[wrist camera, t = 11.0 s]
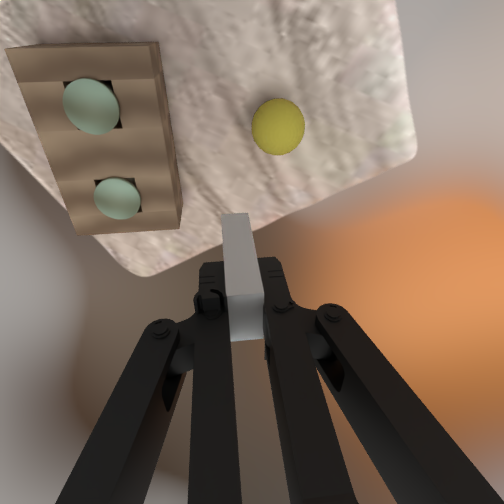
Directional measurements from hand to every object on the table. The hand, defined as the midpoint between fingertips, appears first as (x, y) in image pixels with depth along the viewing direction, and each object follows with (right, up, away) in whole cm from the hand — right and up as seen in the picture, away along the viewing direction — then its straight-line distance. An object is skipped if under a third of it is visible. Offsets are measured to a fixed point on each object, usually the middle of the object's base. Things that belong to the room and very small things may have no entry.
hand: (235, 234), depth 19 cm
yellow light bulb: (+4, +19, +27) cm, 33 cm away
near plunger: (-17, +20, +23) cm, 35 cm away
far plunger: (-17, +11, +30) cm, 36 cm away
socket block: (-17, +15, +27) cm, 35 cm away
